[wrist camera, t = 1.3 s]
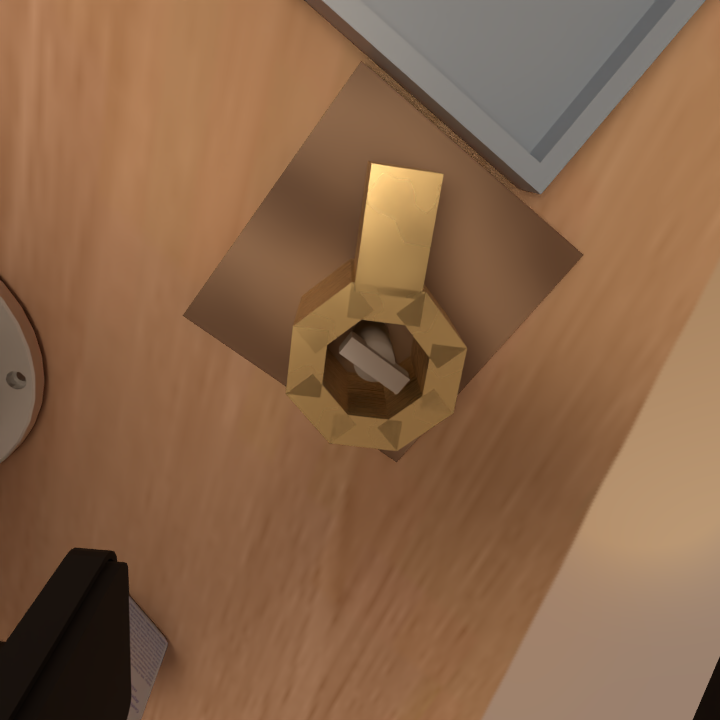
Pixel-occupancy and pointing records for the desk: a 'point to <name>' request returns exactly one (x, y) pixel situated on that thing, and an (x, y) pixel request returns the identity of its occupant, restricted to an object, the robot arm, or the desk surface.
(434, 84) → the tray
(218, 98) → the desk surface
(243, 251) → the board
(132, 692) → the medicine box
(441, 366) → the ring
